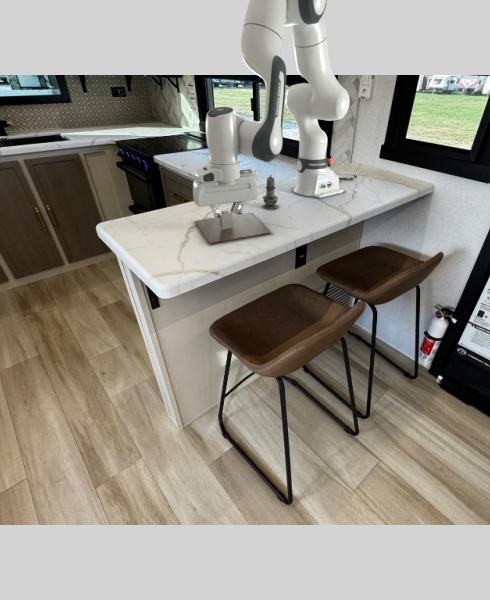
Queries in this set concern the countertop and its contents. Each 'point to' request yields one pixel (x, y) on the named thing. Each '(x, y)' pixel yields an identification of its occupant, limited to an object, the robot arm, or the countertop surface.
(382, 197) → the countertop surface
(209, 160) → the robot arm
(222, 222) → the lighter
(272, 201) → the tarnished pewter finial
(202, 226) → the walnut board
